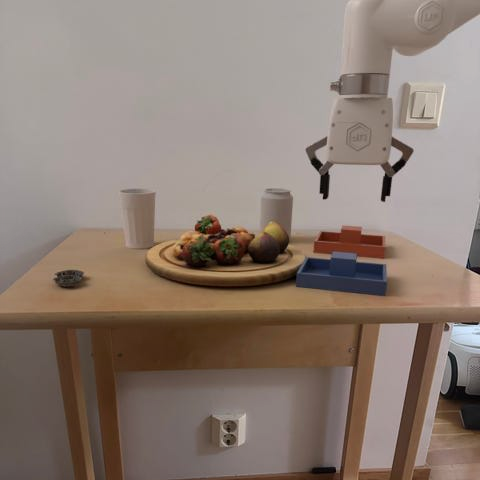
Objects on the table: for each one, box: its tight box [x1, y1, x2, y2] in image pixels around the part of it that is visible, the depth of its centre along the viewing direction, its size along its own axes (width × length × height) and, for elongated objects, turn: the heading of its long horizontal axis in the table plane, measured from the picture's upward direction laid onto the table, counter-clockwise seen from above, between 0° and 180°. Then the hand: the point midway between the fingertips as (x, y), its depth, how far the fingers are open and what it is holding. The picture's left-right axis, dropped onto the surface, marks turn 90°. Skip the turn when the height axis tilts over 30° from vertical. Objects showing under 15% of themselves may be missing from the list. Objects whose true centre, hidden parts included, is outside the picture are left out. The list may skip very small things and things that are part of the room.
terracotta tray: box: [312, 230, 387, 259], centre depth 111 cm, size 15×11×2 cm
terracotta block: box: [340, 224, 363, 244], centre depth 110 cm, size 4×4×4 cm
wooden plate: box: [144, 214, 306, 287], centre depth 96 cm, size 32×32×8 cm
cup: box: [117, 188, 156, 250], centre depth 108 cm, size 8×8×12 cm
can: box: [259, 187, 294, 239], centre depth 116 cm, size 8×8×12 cm
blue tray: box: [295, 256, 388, 297], centre depth 88 cm, size 15×11×2 cm
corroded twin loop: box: [52, 269, 85, 288], centre depth 85 cm, size 5×8×1 cm, turn 12°
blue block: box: [329, 252, 358, 278], centre depth 88 cm, size 4×4×4 cm
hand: (353, 199), depth 83 cm, fingers open, 9 cm apart
